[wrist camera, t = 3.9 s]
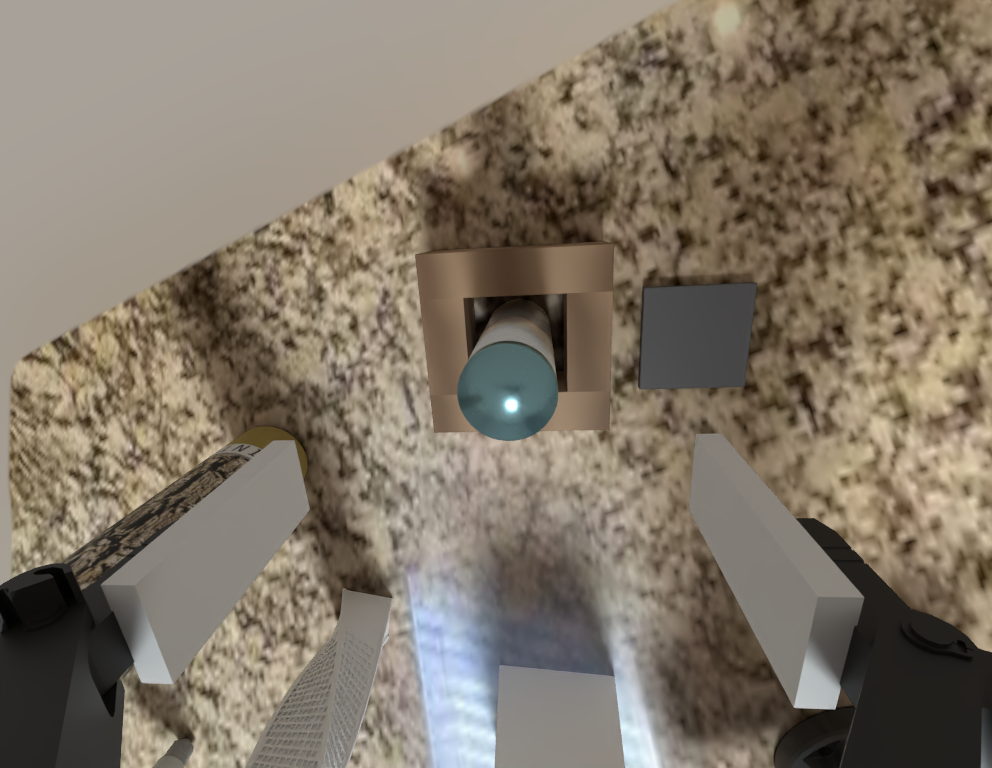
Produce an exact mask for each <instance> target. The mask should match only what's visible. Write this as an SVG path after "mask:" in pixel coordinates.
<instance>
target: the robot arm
mask: <svg viewBox="0 0 992 768" xmlns="http://www.w3.org/2000/svg"><path fill="white" fill-rule="evenodd" d="M309 510H310V508H309V503H308V499H307V494H306V489H305V485H304V480H303V476H302V471H301V467H300V462H299V458H298V453H297V449H296V444H295V440H276V441H272V442H271V443H270V444H268V445H267V446H266V447H265V448H264V449H262V450H261V451H260V452H259V453H258V454H256V455H255V456H254V457H253V458H252V459H250V460H249V461H248V462H247V463H246V464H245V465H243V466H242V467H241V468H240V469H239V470H237V471H236V472H235V473H234V474H233V475H231V476H230V477H229V478H228V479H227V480H225V481H224V482H223V483H222V484H221V485H219V486H218V487H217V488H216V489H215V490H213V491H212V492H211V493H210V494H209V495H207V496H206V497H205V498H204V499H203V500H201V501H200V502H199V503H198V504H197V505H195V506H194V507H193V508H192V509H191V510H189V511H188V512H187V513H186V514H185V515H183V516H182V517H181V518H180V519H177V520H176V521H174V522H172V523H170V524H168V525H167V526H165V527H163V528H161V529H159V530H157V531H156V532H155V533H154V534H153V535H151V536H150V537H149V538H148V539H146V540H145V541H144V542H143V543H142V544H141V546H138V547H137V548H135V549H134V550H133V551H132V552H131V553H129V554H128V557H127V558H123V559H122V560H121V561H120V562H118V563H117V564H116V565H115V566H113V567H112V568H111V569H110V570H109V571H107V572H106V573H105V574H104V575H102V576H101V577H100V578H99V579H98V580H96V581H95V582H94V583H93V584H91V585H90V586H89V587H88V588H87V589H85V590H84V591H83V592H82V591H81V588H80V586H79V584H78V581H77V579H76V577H75V575H74V572H73V570H72V568H71V566H70V565H67V564H64V563H57V564H49V565H45V566H41V567H37V568H34V569H32V570H29V571H27V572H24V573H22V574H19V575H18V576H16V577H14V578H12V579H10V580H9V581H7V582H5V583H3V584H2V585H0V768H120V759H121V743H122V726H123V709H124V693H125V690H124V687H123V684H122V681H121V679H120V677H121V676H122V675H123V674H124V673H125V672H126V671H127V669H128V668H129V667H130V666H131V665H132V664H133V663H134V666H135V668H136V670H137V673H138V675H139V678H140V680H141V682H142V683H158V684H174V683H175V681H176V680H177V679H178V678H179V676H180V675H181V674H182V672H183V671H184V670H185V669H186V667H187V666H188V665H189V663H190V662H191V661H192V660H193V658H194V657H195V656H196V655H197V653H198V652H199V651H200V649H201V648H202V647H203V646H204V644H205V643H206V642H207V640H208V639H209V638H210V637H211V635H212V634H213V633H214V632H215V630H216V629H217V628H218V626H219V625H220V624H221V623H222V621H223V620H224V619H225V617H226V616H227V615H228V614H229V612H230V611H231V610H232V609H233V607H234V606H235V605H236V603H237V602H238V601H239V600H240V598H241V597H242V596H243V595H244V593H245V592H246V591H247V589H248V588H249V587H250V586H251V584H252V583H253V582H254V580H255V579H256V578H257V577H258V575H259V574H260V573H261V572H262V570H263V569H264V568H265V566H266V565H267V564H268V563H269V561H270V560H271V559H272V557H273V556H274V555H275V554H276V552H277V551H278V550H279V549H280V547H281V546H282V545H283V543H284V542H285V541H286V540H287V538H288V537H289V536H290V534H291V533H292V532H293V531H294V529H295V528H296V527H297V526H298V524H299V523H300V522H301V520H302V519H303V518H304V517H305V515H306V514H307V513H308V512H309ZM689 511H690V513H691V515H692V517H693V518H694V520H695V522H696V524H697V526H698V528H699V530H700V532H701V534H702V535H703V537H704V539H705V541H706V543H707V545H708V547H709V549H710V551H711V552H712V554H713V556H714V558H715V560H716V562H717V564H718V566H719V568H720V569H721V571H722V573H723V575H724V577H725V579H726V581H727V583H728V585H729V586H730V588H731V590H732V592H733V594H734V596H735V598H736V600H737V602H738V603H739V605H740V607H741V609H742V611H743V613H744V615H745V617H746V619H747V620H748V622H749V624H750V626H751V628H752V630H753V632H754V634H755V636H756V637H757V639H758V641H759V643H760V645H761V647H762V649H763V651H764V652H765V654H766V656H767V658H768V660H769V662H770V664H771V666H772V668H773V669H774V671H775V673H776V675H777V677H778V679H779V681H780V683H781V685H782V686H783V688H784V690H785V692H786V694H787V696H788V698H789V700H790V702H791V703H792V705H793V707H794V708H809V709H836V705H837V701H838V698H839V694H840V690H841V687H842V688H843V690H844V691H845V693H846V694H847V696H848V697H849V699H850V700H851V702H852V703H853V705H854V707H852V708H843V709H837V710H832V711H828V712H825V713H821V714H819V715H816V716H814V717H811V718H809V719H807V720H805V721H803V722H802V723H800V724H799V725H797V726H796V727H794V728H793V729H792V730H791V731H790V732H789V733H788V734H787V735H786V736H785V737H784V738H783V739H782V741H781V742H780V744H779V746H778V748H777V751H776V754H775V768H992V652H988V651H984V650H981V649H978V648H977V646H976V645H975V644H974V643H973V642H972V641H971V640H970V639H969V637H968V636H966V635H965V634H963V633H962V632H961V631H959V630H958V629H956V628H955V627H954V626H952V625H951V624H949V623H947V622H945V621H943V620H941V619H939V618H937V617H935V616H932V615H929V614H926V613H923V612H919V611H916V610H911V609H910V608H909V607H908V606H907V605H906V604H905V603H904V602H903V601H902V600H901V599H900V598H899V596H898V595H897V594H896V593H895V592H894V591H893V590H892V589H891V588H890V587H889V586H888V585H887V584H886V583H885V582H884V581H883V580H882V579H881V578H880V577H879V576H878V575H877V574H876V573H875V572H874V571H873V570H872V568H871V567H870V566H869V565H868V564H864V560H863V559H862V558H861V557H860V556H859V555H858V554H857V553H856V552H855V551H854V550H851V547H850V546H849V545H848V544H847V543H846V542H845V541H844V539H843V538H842V537H841V536H840V535H839V534H838V533H837V532H836V531H834V530H832V529H831V528H829V527H827V526H826V525H824V524H823V523H821V522H819V521H818V520H816V519H814V518H795V517H794V516H793V515H792V514H791V513H790V512H789V510H788V509H787V508H786V507H785V506H784V505H783V504H782V502H781V501H780V500H779V499H778V498H777V497H776V496H775V494H774V493H773V492H772V491H771V490H770V489H769V488H768V486H767V485H766V484H765V483H764V482H763V481H762V480H761V478H760V477H759V476H758V475H757V474H756V473H755V471H754V470H753V469H752V468H751V467H750V466H749V465H748V463H747V462H746V461H745V460H744V459H743V458H742V457H741V455H740V454H739V453H738V452H737V451H736V450H735V449H734V447H733V446H732V445H731V444H730V443H729V442H728V441H727V439H726V438H725V437H724V436H723V435H722V434H696V438H695V448H694V459H693V470H692V480H691V491H690V502H689Z"/></svg>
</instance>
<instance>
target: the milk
mask: <svg viewBox="0 0 992 768" xmlns="http://www.w3.org/2000/svg"><path fill="white" fill-rule="evenodd" d="M495 768H625V764H624V755H623V746H622V738H621V729H620V720H619V711H618V703H617V694H616V685H615V676H608V675H597V674H587V673H577V672H567V671H557V670H546V669H536V668H526V667H516V666H506V665H499V682H498V704H497V727H496V750H495Z"/></svg>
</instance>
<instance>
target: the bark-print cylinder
mask: <svg viewBox="0 0 992 768" xmlns="http://www.w3.org/2000/svg"><path fill="white" fill-rule="evenodd" d="M276 440H295V444H296V449H297V453H298V458H299V462H300V467H301V471H302V476H303V480H304V478H305V476H306V473H307V469H308V463H307V457H306V454H305V451H304V449H303V447H302V446H301V444H300V443H299V442H298V441H297V439H296V438H294V437H293V436H292V435H291V434H289V433H288V432H286V431H284V430H281V429H279V428H275V427H269V426H260V427H255V428H253V429H250V430H248V431H247V432H245V433H244V434H242V435H241V436H239V437H238V438H236V439H235V440H234V441H232V442H231V443H229V444H228V445H227V446H225V447H224V448H222V449H220V450H219V451H218V452H216V453H215V454H213V455H212V456H210V457H209V458H208V459H206V460H205V461H203V462H202V463H201V464H199V465H198V466H196V467H195V468H193V469H192V470H191V471H189V472H188V473H186V474H185V475H184V476H182V477H181V478H179V479H178V480H176V481H175V482H174V483H172V484H171V485H169V486H168V487H167V488H165V489H164V490H162V491H161V492H159V493H158V494H157V495H155V496H154V497H152V498H151V499H150V500H148V501H147V502H145V503H144V504H142V505H141V506H140V507H138V508H137V509H135V510H134V511H133V512H131V513H130V514H128V515H127V516H125V517H124V518H123V519H121V520H120V521H118V522H117V523H116V524H114V525H113V526H111V527H110V528H108V529H107V530H106V531H104V532H103V533H101V534H100V535H99V536H97V537H96V538H94V539H93V540H91V541H90V542H89V543H87V544H86V545H84V546H83V547H82V548H80V549H79V550H77V551H76V552H74V553H73V554H72V555H70V556H69V557H67V558H66V559H65V560H63V561H62V562H60V563H64V564H67V565H70V566H71V568H72V570H73V572H74V575H75V577H76V579H77V581H78V584H79V586H80V588H81V591H82V592H83V591H84V590H85V589H87V588H88V587H89V586H90V585H91V584H93V583H94V582H95V581H96V580H98V579H99V578H100V577H101V576H102V575H104V574H105V573H106V572H107V571H109V570H110V569H111V568H112V567H113V566H115V565H116V564H117V563H118V562H120V561H121V560H122V559H123V558H127V557H128V554H129V553H131V552H132V551H133V550H134V549H135V548H137V547H138V546H141V544H142V543H143V542H144V541H145V540H146V539H148V538H149V537H150V536H151V535H153V534H154V533H155V532H156V531H157V530H159V529H161V528H163V527H165V526H167V525H168V524H170V523H172V522H174V521H176V520H177V519H180V518H181V517H182V516H183V515H185V514H186V513H187V512H188V511H189V510H191V509H192V508H193V507H194V506H195V505H197V504H198V503H199V502H200V501H201V500H203V499H204V498H205V497H206V496H207V495H209V494H210V493H211V492H212V491H213V490H215V489H216V488H217V487H218V486H219V485H221V484H222V483H223V482H224V481H225V480H227V479H228V478H229V477H230V476H231V475H233V474H234V473H235V472H236V471H237V470H239V469H240V468H241V467H242V466H243V465H245V464H246V463H247V462H248V461H249V460H250V459H252V458H253V457H254V456H255V455H256V454H258V453H259V452H260V451H261V450H262V449H264V448H265V447H266V446H267V445H268V444H270V443H271V442H272V441H276ZM133 667H134V663H133V664H132V665H131V666H130V667H129V668H128V669H127V671H126V672H125V673H124V674H123V675H122V676H121V677H120V679H121V680H122V679H123V678H124V677H125V676H126V674H127V673H128V672H129V671H130V670H131V669H132V668H133Z"/></svg>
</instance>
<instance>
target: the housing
mask: <svg viewBox="0 0 992 768" xmlns="http://www.w3.org/2000/svg"><path fill="white" fill-rule="evenodd" d="M415 258H416V267H417V276H418V286H419V295H420V304H421V313H422V323H423V332H424V341H425V351H426V360H427V369H428V378H429V388H430V397H431V406H432V415H433V425H434V432H479V431H478V430H476V429H475V428H474V427H473V426H472V425H471V424H470V423H469V422H468V421H467V420H466V418H465V417H464V415H463V413H462V411H461V409H460V406H459V403H458V397H457V387H458V381H459V378H460V375H461V373H462V371H463V369H464V367H465V365H466V363H467V361H468V359H469V358H470V356H471V354H472V352H473V350H474V348H475V346H476V344H477V340H476V326H475V312H474V298H473V297H495V296H518V295H540V294H563V337H564V371H556V377H557V385H558V402H557V407H556V409H555V412H554V414H553V416H552V418H551V419H550V421H549V422H548V423H547V424H546V425H545V427H543V428H542V429H541V430H540V431H564V430H609V424H610V383H611V343H612V303H613V262H614V244H612V243H608V242H604V241H601V242H583V243H564V244H546V245H528V246H510V247H491V248H473V249H455V250H437V251H428V252H424V253H420V254H416V255H415Z"/></svg>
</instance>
